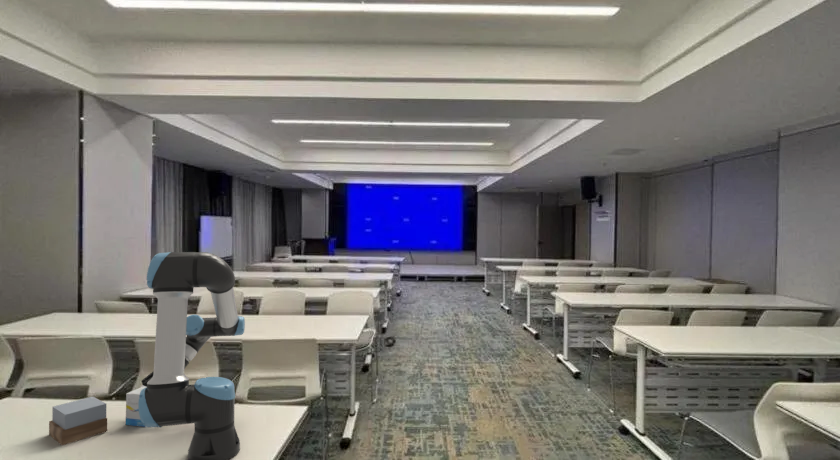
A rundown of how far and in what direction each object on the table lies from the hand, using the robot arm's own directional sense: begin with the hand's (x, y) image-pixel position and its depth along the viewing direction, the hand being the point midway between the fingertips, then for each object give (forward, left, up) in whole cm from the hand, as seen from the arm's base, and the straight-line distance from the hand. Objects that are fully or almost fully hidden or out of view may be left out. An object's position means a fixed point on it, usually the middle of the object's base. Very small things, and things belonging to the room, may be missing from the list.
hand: (140, 406), depth 167 cm
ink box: (0, -1, -6) cm, 6 cm away
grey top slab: (+8, +16, -1) cm, 18 cm away
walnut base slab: (+8, +17, -6) cm, 19 cm away
